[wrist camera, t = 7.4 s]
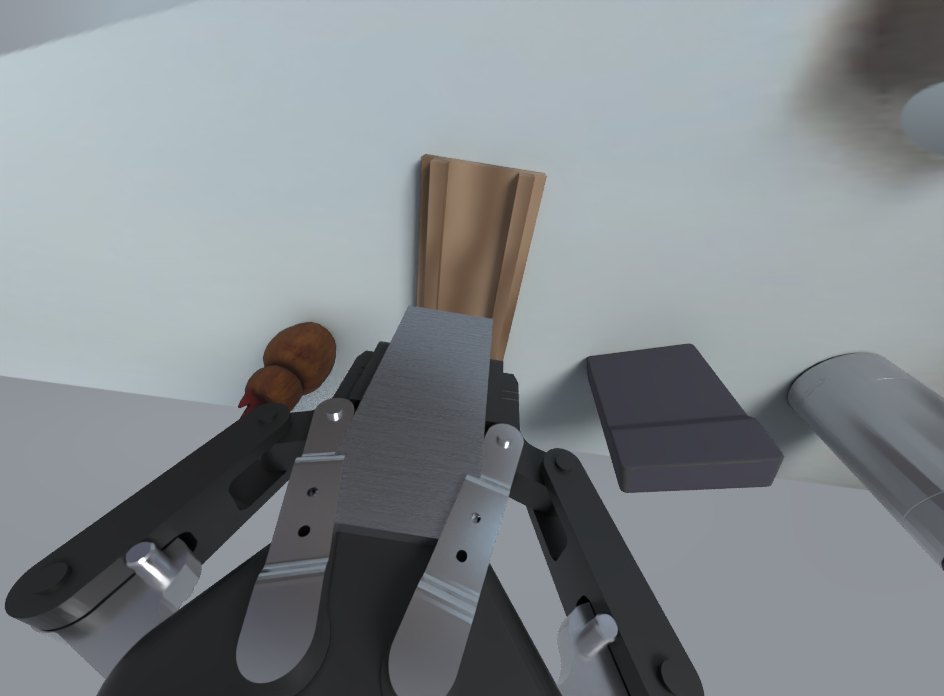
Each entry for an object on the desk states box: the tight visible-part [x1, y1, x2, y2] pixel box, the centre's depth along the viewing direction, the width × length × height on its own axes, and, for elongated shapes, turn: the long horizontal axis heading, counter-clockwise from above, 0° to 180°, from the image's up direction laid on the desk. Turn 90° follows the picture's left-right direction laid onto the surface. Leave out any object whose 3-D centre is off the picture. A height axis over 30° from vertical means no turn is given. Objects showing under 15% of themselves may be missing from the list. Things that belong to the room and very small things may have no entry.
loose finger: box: [313, 306, 493, 547], centre depth 13 cm, size 4×3×10 cm
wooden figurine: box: [238, 322, 336, 418], centre depth 34 cm, size 7×6×15 cm
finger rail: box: [417, 154, 547, 361], centre depth 30 cm, size 10×23×12 cm, turn 173°
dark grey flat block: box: [587, 344, 784, 493], centre depth 32 cm, size 11×4×15 cm, turn 104°
